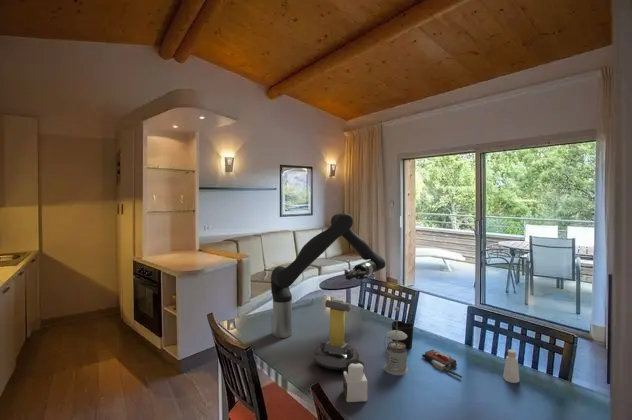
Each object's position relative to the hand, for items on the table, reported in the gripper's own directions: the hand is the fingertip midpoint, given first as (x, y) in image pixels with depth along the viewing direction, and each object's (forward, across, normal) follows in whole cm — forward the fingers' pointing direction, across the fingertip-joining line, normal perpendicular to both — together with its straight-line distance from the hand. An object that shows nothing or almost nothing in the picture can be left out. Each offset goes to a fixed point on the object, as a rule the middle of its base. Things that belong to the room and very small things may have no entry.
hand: (347, 277), depth 166 cm
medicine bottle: (+39, +23, +30) cm, 54 cm away
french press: (+13, +28, +30) cm, 43 cm away
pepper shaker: (-2, +68, +30) cm, 74 cm away
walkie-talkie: (+1, +45, +31) cm, 54 cm away
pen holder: (-8, +24, +30) cm, 39 cm away
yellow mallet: (+23, +7, +24) cm, 34 cm away
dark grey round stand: (+23, +7, +30) cm, 38 cm away
